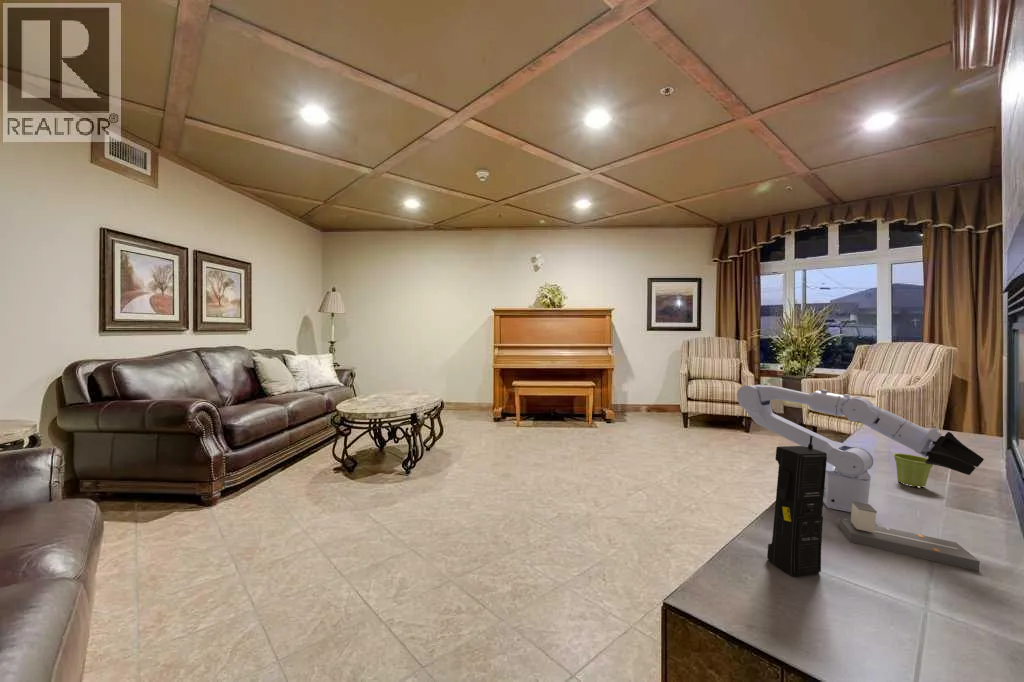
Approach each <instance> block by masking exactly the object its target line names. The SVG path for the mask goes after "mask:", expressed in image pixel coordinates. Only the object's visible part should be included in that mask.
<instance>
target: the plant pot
mask: <svg viewBox="0 0 1024 682" xmlns="http://www.w3.org/2000/svg"><path fill="white" fill-rule="evenodd" d="M892 456H893V457H894V460H895V466H896V467H895V468H896V474H897V476H896V477H897V482H898V481H899V482H902V483H904V484H908V485H912V487H915V486H920V487H923V486H925V487H926V485H927V481H928V478H929V475H930V471H931V469H932V468H933V465H932V464H927V463H925V462H926V460H927V459H928V457H924V456H919V455H918V456H917V455H913V454H906V453H893V454H892ZM899 482H898V483H899Z"/></svg>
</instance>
